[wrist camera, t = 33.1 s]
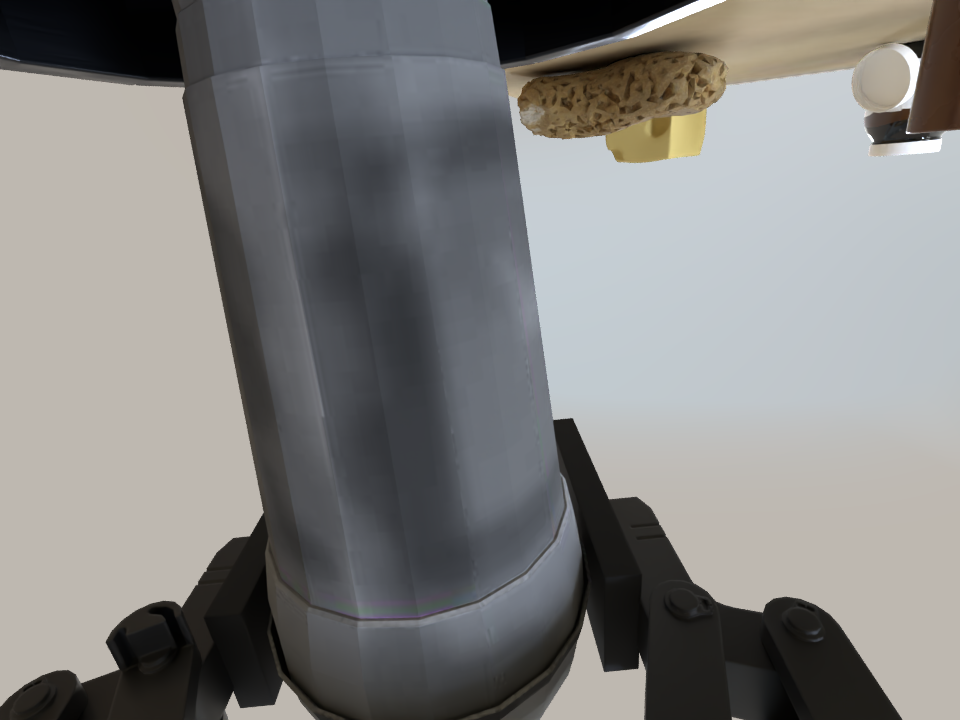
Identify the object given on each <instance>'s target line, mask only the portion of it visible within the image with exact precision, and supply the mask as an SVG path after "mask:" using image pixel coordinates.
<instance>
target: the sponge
mask: <svg viewBox="0 0 960 720" xmlns="http://www.w3.org/2000/svg"><path fill="white" fill-rule="evenodd" d="M727 71H728V67H727V66H726V64H725V63H724V62H723V61H721V60H720V59H718V58H716V57H713V56H710V55H706V54H703V53H692V52H689V53H687V52H682V51H675V52H671V51H664V52H657V53H649V54H643V55H638V56H636V57H634V58H632V57H629V58H627V59H623V60H620V61H618V62H615V63H613V64H610V65H609V66H608V67H606V68H602V69H597V70H592V71H587V72H582V73H577V74H571V75H563V76H554V77H539V78H536V79H533V80H532V81H531V82H528V83H527V84H526V85H525V86H524V87H523V88H522V93H521V95H520V96H519V98H518V106H519V108H520V112H519V113H520V116H521V119H520V120H521V123H522V124H523V125H525V126H526V128H527V129H529V130H531V131H532V133H533V134H534V135H540V136H542V135H544V136H545V137H549V138H562V139H570V138H585V137H593V136H602V135H608V134H611V133H614V132H617V131H620V130H623V129H626V128H627V127H629V126H632V125H635V124H639V123H642V122H645V121H648V120H650V119H653V118H664V117H671V116H684V115H690V114H696V113H699V112H701V111H703V110H704V109H706V108H708V107H709V106H711V105H712V104H713V103H716V102H717V101H718V100H719V98H720V97H721V96H722V94H723V93H724V91H725V89H726V81H725V78H726V74H727Z"/></svg>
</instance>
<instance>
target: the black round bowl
mask: <svg viewBox="0 0 960 720" xmlns="http://www.w3.org/2000/svg"><path fill="white" fill-rule="evenodd" d="M723 1H725V0H487V2H488V4H490V6H491V12H492V18H493V24H494V30H495V36H496V42H497V48H498V54H499V60H500V66H501V68H502V69H506V68H512V67H518V66H524V65H530V64H534V63H536V62H537V63H539V62H543V61H547V60H551V59H554V58H558V57H562V56H566V55H570V54H573V53H577V52H581V51H585V50H588V49H592V48H596V47H600V46H604V45H607V44H611V43H615V42H619V41H622V40H626V39H628V38H630V37H631V38H633V37H635V36H638V35H640V34H643V33H645V32H648V31H650V30H653V29H655V28H658V27H660V26H663V25H665V24H668V23H670V22H673V21H675V20H678V19H680V18H683V17H685V16H688V15H690V14H693V13H695V12H698V11H700V10H703V9H705V8H708V7H710V6H713V5H715V4H718V3H720V2H723ZM176 22H177V18H176V14H175V11H174V7H173V3H172V0H0V69H3V70H11V71H19V72H28V73H36V74H44V75H53V76H60V77H70V78H77V79H85V80H93V81H102V82H110V83H119V84H126V85H135V84H136V85H141V86H164V87H185V85H184V79H183V73H182V67H181V61H180V55H179V49H178V43H177V37H176V31H175V29H176Z"/></svg>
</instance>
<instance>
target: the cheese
mask: <svg viewBox="0 0 960 720" xmlns="http://www.w3.org/2000/svg"><path fill="white" fill-rule="evenodd" d="M706 109H707V108H706ZM706 109H704V110H703V111H701V112H699V113H696V114H690V115H684V116H671V117H664V118H653V119H650V120H648V121H645V122H642V123H639V124H635V125H632V126H629V127H627V128H626V129H623V130H620V131H617V132H614V133H611V134H608V135H606V145H607V147H608V149H609V150H611V151H612V153H613V155H614V157H615V159H616V161H617V162H628V163H642V162H652V161H658V160H663V159H671V158H678V157H688V156H697V155H699V154H700V151H701V147H702V144H703V140H704V135H705V125H706Z"/></svg>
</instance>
